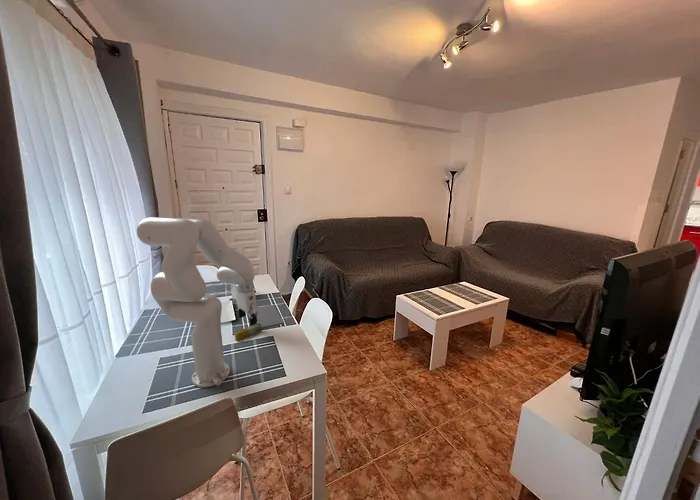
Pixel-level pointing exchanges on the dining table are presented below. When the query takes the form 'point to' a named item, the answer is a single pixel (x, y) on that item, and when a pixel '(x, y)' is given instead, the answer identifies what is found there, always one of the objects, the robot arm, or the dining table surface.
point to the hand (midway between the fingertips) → (247, 320)
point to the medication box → (247, 332)
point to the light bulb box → (233, 291)
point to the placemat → (268, 316)
